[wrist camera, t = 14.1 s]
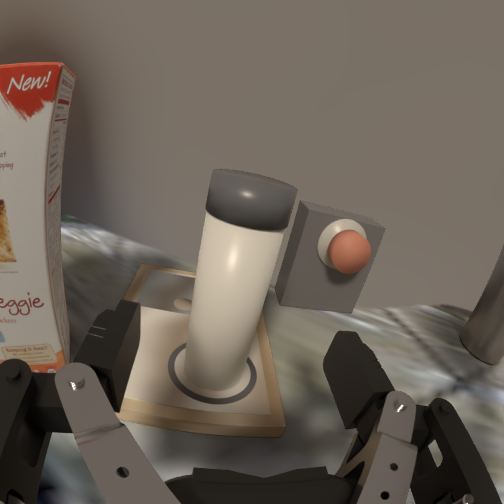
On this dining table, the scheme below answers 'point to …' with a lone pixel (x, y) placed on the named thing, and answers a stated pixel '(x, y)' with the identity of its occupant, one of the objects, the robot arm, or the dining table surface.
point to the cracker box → (33, 213)
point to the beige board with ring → (173, 375)
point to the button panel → (322, 260)
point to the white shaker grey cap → (234, 273)
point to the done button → (349, 251)
